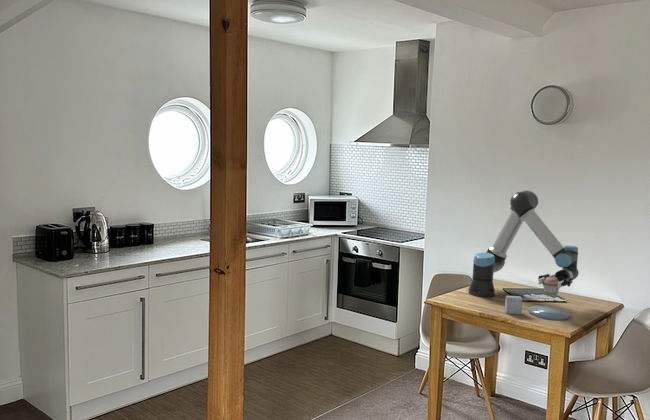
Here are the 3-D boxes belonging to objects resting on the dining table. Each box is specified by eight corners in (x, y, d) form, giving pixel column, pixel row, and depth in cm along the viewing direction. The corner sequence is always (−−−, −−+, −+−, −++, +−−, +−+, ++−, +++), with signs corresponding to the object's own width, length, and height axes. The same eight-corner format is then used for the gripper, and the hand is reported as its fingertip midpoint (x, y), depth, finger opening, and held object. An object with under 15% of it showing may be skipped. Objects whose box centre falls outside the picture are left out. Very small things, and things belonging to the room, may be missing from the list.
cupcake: (537, 292, 316) (539, 273, 315) (547, 290, 322) (549, 271, 321) (553, 296, 309) (555, 277, 308) (563, 294, 315) (565, 275, 313)
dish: (534, 318, 308) (534, 315, 308) (524, 307, 328) (524, 304, 327) (574, 321, 306) (574, 317, 306) (562, 309, 326) (562, 306, 326)
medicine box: (519, 312, 318) (520, 296, 317) (521, 314, 314) (522, 298, 313) (504, 311, 319) (505, 295, 318) (506, 313, 315) (507, 297, 314)
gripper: (583, 287, 322) (569, 294, 305) (542, 279, 336) (527, 286, 319) (584, 273, 321) (571, 280, 304) (544, 266, 335) (528, 272, 318)
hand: (548, 283), depth 311 cm, fingers closed on cupcake, 9 cm apart
